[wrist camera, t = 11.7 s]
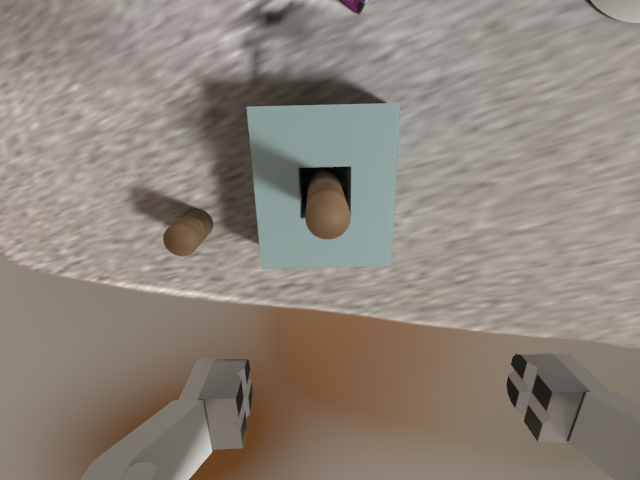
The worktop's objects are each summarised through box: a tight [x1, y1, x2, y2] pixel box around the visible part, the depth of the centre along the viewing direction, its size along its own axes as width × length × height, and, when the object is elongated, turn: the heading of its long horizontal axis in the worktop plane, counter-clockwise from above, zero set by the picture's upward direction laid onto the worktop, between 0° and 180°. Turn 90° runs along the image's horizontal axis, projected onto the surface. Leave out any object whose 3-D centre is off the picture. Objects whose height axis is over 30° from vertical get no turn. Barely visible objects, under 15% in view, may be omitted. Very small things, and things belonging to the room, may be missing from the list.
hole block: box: [246, 103, 401, 269], centre depth 31 cm, size 14×12×5 cm
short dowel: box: [163, 209, 213, 256], centre depth 33 cm, size 3×3×5 cm
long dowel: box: [305, 167, 351, 240], centre depth 28 cm, size 3×3×12 cm
